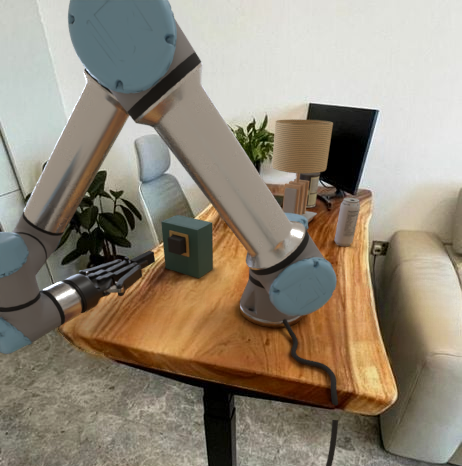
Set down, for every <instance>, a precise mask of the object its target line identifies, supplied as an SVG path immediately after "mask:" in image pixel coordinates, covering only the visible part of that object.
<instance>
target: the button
mask: <svg viewBox="0 0 462 466" xmlns="http://www.w3.org/2000/svg"><path fill="white" fill-rule="evenodd" d="M167 239H168V251H169V252H171V253H175V254H178V255H181V254H183V253H185V252H186V237H182V236H178V235H173V236H170V237H168V238H167Z"/></svg>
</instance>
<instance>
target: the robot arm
mask: <svg viewBox="0 0 462 466" xmlns="http://www.w3.org/2000/svg"><path fill="white" fill-rule="evenodd" d="M67 26H68V33H69V37H70V41H71V44H72V47H73V50H74V52H75V54H76V56H77V58H78V60H79V61H80V63H81V64H82V66H83V67H84V69H83V76H84V78H85V85H84V87H83V89H82V92H81V93H80V95H79V97H78V100H77V101H76V104H75V106H74V107H73V109H72V111H71V113H70V116H69V118H68V119H67V122H66V124H65V126H64V128H63V129H62V131H61V134H60V136H59V138H58V140H57V141H56V144H55V146H54V148H53V150H52V152H51V153H50V156H49V158H48V160H47V162H46V164H45V166H44V168H43V170H42V172H41V174H40V176H39V178H38V180H37V182H36V184H35V186H34V188H33V190H32V192H31V194H30V197H29V198H28V200H27V203H26V204H25V207H24V208H23V211H22V213H21V215H20V217H19V218H18V221H17V223H16V225H15V227H14V228H13V230H12V231H0V353H1V354H5V355H9V354H12V353H14V352H16V351H18V350H20V349H22V348H24V347H26V346H31V345H32V344H33V343H34V342H36V341H37V340H39V339H41V338H42V337H44V336H46V335H47V334H48V333H50V332H52V331H54V330H56V329H57V328H59V327H61V326H63V325H65V324H66V323H68V322H70V321H72V320H74V319H75V318H77V317H80V315H82V314H84V313H86V312H88V311H90V310H92V309H93V308H95V307H97V305H98V304H99V302H100V300H101V298H105V297H108V296H110V295H111V294H117V296H118V297H123V296H125V293H126V291H128V289H129V288H130V287H132V286H133V285H135V283H136V282H137V281H139V280H140V279H141V278H142V277H143V270H144V269H146V268H147V267H149V266H150V265H152V264H154V263H156V258H155V252H154V251H152V250H148V251H146V252H144V253H141V254H139V255H138V256H136V257H133V258H131V259H129V257H128V256H124V257H123V261H122V259H121V258H120V259H119V258H118V259H115V260H112V261H109V262H106V263H102V264H100V265H97V266H93V267H91V268H86V269H81V270H79V271H78V273H76V274H73V275H71V276H69V277H67V278H65V279H63V280H62V281H57V282H56V283H54V284H51V285H49V286H47V287H45V288H43V289H42V290H40V287H39V284H38V281H37V277H36V276H37V275H38V273H39V271H40V270H41V269H42V268H43V266H44V265H45V264H46V262H47V261H48V260H49V258H50V257H51V256H52V254H54V253H55V252H56V250H57V249H58V248H59V245H60V243H61V240H62V237H63V235H64V233H65V231H66V229H67V227H68V225H69V224H70V223H71V220H72V218H74V215H75V214H76V212H77V210H78V208H79V206H80V204H81V202H82V201H83V199H84V197H85V195H86V194H87V192H88V190H89V188H90V187H91V186H92V184H93V182H94V180H95V178H96V176H97V174H98V172H99V170H100V169H101V167H102V166H103V164H104V161H105V160H106V158H107V156H108V155H109V153H110V152H111V149H112V148H113V146H114V144H115V142H116V141H117V139H118V137H119V135H120V133H121V131H122V130H123V129H124V126H125V125H126V123H127V121H128V119H129V117H130V118H131V119H132V121H133V122H134V123H135V124H137V125H144V126H149V127H151V128H153V129H154V131H155V132H156V133H157V135H158V136H159V137H160V138H161V140H162V141H163V142H164V144H165V145H166V147H167V148H168V149H169V150H170V152H171V153H172V154H173V155H174V156H175V158H176V160H177V161H178V162H179V164H181V167H183V169H184V171H186V173H187V175H189V176H190V178H191V179H192V180H193V182H194V183H195V185H196V186H197V187H198V188H199V190H200V191H201V192H202V194H203V195H204V196H205V198H206V199H207V200H208V201H209V203H210V204H211V206H212V207H213V208H214V209H215V211H216V212H217V213H218V215H219V216H220V217H221V219H222V220H223V221H224V222H225V224H226V225H227V226H228V228H229V229H230V230H231V231H232V233H233V234H234V236H235V237H236V238H237V240H238V241H239V242H240V244H241V245H242V246H243V247H244V249H245V250H246V251H247V252H246V256H245V264H246V266H247V268H248V280H247V282H246V285H245V287H244V289H243V292H242V294H241V297H240V300H239V312H240V315H242V317H243V318H244V319H246V320H247V321H248V322H250V323H252V324H254V325H256V326H260V327H264V328H272V329H277V328H278V329H279V328H285V329H286V331H287V333H288V334H289V336H290V338H291V340H292V347H291V350H290V355H291V357H292V358H293V359H294V361H296V362H297V363H299V364H301V365H305V366H310V367H314V368H317V369H320V370H323V371H324V372H325V373H326V374H327V375H328V376H329V380H330V397H331V403H332V405H333V406H338V404H339V401H338V390H337V386H338V385H337V377H336V375H335V373H334V372H333V370H332V369H331V368H330V367H328V365H326V364H324V363H322V362H319V361H316V360H315V361H314V360H310V359H306V358H302V357H301V356H299V355H298V354H297V349H298V344H299V341H298V338H297V336H296V334H295V332H294V330H293V328H292V326H293V325H296V324H297V323H299V322H300V321H301V320H302V319H303V317H304V316H307V315H310V314H312V313H315V312H317V311H318V310H320V309H321V308H323V307H324V306H325V305H326V304H328V302H329V301H330V300H331V299H332V296H333V294H334V291H335V290H336V288H337V274H336V272H335V270H334V267H333V265H332V263H331V262H330V261H329V260H327V259H326V258H325V257H324V255H323V254H322V252H321V251H320V249H319V248H318V246H317V244H316V243H315V242H314V240H313V238H312V237H311V235H310V234H309V232H308V230H309V222H308V220H307V218H306V217H304V216H302V215H299V214H293V213H284V212H283V207H281V205H280V203H278V201H277V199H276V197H275V196H274V194H273V193H272V191H271V190H270V188H269V186H268V185H267V184H266V182H265V180H264V179H263V177H262V176H261V174H260V173H259V171H258V169H257V168H256V167H255V165H254V164H253V162H252V160H251V159H250V157H249V155H248V154H247V152H246V151H245V149H244V148H243V147H242V145H241V143H240V142H239V140H238V138H237V137H236V135H235V134H234V132H233V130H232V129H231V128H230V126H229V125H228V123H227V121H226V120H225V118H224V117H223V115H222V114H221V112H220V110H219V108H217V106H216V105H215V103H214V101H213V100H212V98H211V97H210V95H209V93H208V92H207V90H206V89H205V87H204V86H203V83H202V77H203V69H204V63H203V61H202V60H201V59H200V57H199V55H198V54H197V52H196V51H195V49H194V47H193V46H192V44H191V43H190V41H189V39H188V37H187V36H186V34H185V33H184V31H183V30H182V28H181V26H180V25H179V23H178V22H177V20H176V18H175V14H174V11H173V10H172V5H171V3H170V1H169V0H69V2H68V12H67ZM338 429H339V420H338V419H331V432H330V441H329V450H328V454H327V459H326V464H325V466H333V462H334V458H335V452H336V446H337V438H338Z"/></svg>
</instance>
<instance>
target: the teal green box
mask: <svg viewBox="0 0 462 466" xmlns="http://www.w3.org/2000/svg"><path fill="white" fill-rule="evenodd" d="M160 224H161V225H160V226H161V237H162V247H163V256H164V267H165V269H167V270H171V271H172V272H173V271H174V272H177V273H180V274H183V275H187V276H189V277H193V278H197V279H201V278H202V277H204V276H205V275H206V274H208V273H209V272H211V271H213V270H214V240H213V238H214V237H213V230H214V229H213V221H208V220H203V219H199V218H195V217H190V216H185V215H180V214H176V215H173V216H171V217H168V218H166V219H163V220H161V221H160ZM173 235H178V236H182V237H186V252H185V253H183V254H181V255H178V254H175V253H171V252H169V251H168V239H167V238H168V237H170V236H173Z"/></svg>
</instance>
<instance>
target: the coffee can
mask: <svg viewBox="0 0 462 466" xmlns="http://www.w3.org/2000/svg"><path fill="white" fill-rule="evenodd" d="M296 174H297V173H295V175H296ZM320 176H321V172H319V173H300V179H299V180H306V181H309V189H308V196H307V204H306V209H309V208H314V207H316V202H317V197H318V189H319V181H320Z"/></svg>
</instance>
